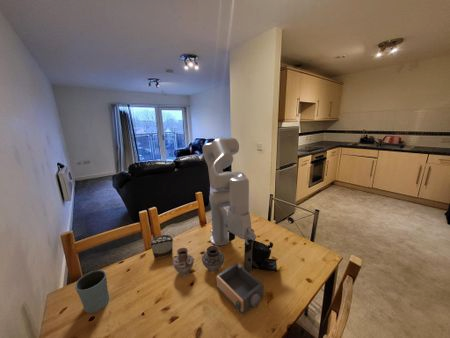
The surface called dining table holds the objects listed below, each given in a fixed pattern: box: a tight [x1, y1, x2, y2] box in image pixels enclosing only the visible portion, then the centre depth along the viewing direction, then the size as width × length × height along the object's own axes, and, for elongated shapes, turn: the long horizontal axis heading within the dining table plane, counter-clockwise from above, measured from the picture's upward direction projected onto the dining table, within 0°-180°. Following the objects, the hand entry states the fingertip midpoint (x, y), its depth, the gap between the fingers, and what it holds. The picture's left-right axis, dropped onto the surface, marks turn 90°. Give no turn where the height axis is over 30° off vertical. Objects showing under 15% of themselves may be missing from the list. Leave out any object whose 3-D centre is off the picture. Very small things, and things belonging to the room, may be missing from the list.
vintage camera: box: [243, 228, 278, 274], centre depth 92 cm, size 10×16×20 cm, turn 79°
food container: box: [149, 234, 175, 260], centre depth 106 cm, size 12×6×10 cm, turn 108°
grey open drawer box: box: [216, 262, 264, 316], centre depth 80 cm, size 18×12×7 cm
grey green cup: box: [74, 269, 110, 314], centre depth 77 cm, size 10×10×12 cm
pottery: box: [172, 245, 226, 277], centre depth 93 cm, size 11×25×12 cm, turn 99°
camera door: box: [216, 275, 244, 312], centre depth 77 cm, size 16×2×5 cm, turn 39°
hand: (239, 245), depth 80 cm, fingers open, 9 cm apart
